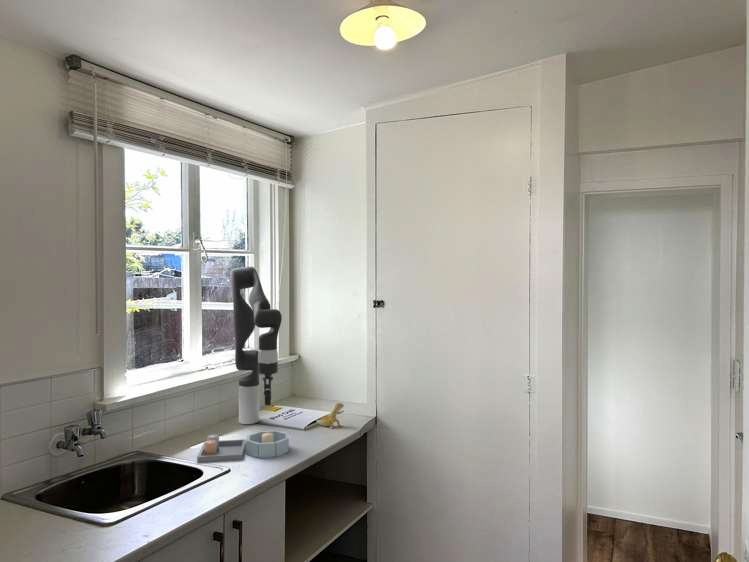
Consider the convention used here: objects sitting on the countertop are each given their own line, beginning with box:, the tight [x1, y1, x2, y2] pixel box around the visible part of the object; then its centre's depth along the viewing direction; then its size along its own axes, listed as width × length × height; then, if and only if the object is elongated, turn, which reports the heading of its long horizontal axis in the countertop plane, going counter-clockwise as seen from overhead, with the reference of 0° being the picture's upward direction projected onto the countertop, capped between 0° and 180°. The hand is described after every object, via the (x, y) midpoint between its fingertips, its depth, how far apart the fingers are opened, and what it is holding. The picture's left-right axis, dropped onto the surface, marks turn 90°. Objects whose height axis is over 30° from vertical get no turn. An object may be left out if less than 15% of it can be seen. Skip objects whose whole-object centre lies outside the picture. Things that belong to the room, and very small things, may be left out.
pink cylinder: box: [206, 434, 220, 451], centre depth 206 cm, size 4×4×6 cm
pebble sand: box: [262, 433, 273, 443], centre depth 206 cm, size 4×4×6 cm
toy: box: [316, 402, 345, 430], centre depth 238 cm, size 7×15×10 cm, turn 75°
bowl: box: [245, 429, 290, 459], centre depth 206 cm, size 16×16×6 cm
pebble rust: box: [203, 440, 217, 456], centre depth 199 cm, size 4×4×6 cm
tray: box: [196, 438, 247, 463], centre depth 203 cm, size 18×16×2 cm
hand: (268, 402), depth 206 cm, fingers open, 8 cm apart
